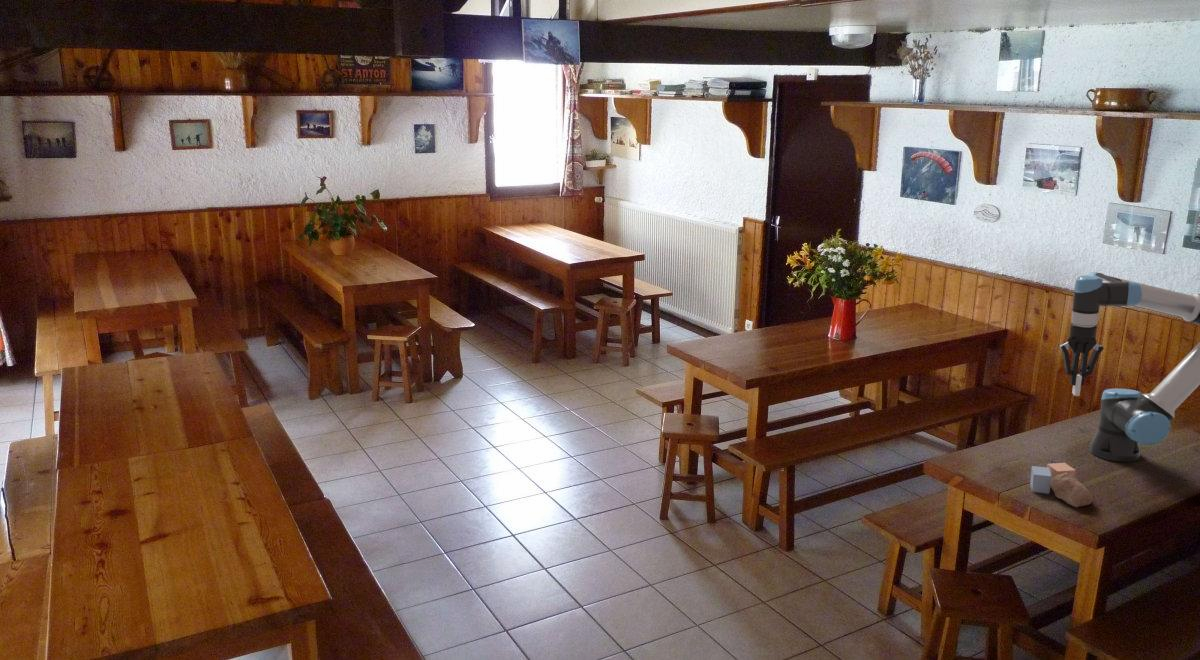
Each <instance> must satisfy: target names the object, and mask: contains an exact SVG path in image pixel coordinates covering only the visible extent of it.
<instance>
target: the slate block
mask: <svg viewBox="0 0 1200 660" xmlns="http://www.w3.org/2000/svg"><path fill="white" fill-rule="evenodd" d="M1030 471H1031V472H1030V479H1029V480H1030V481H1029V485H1030V489H1031V492H1032V493H1039V494H1048V495H1050V493H1051V485H1050V484H1051V482H1050V481H1051V473H1050V470H1049V468H1047V466H1046V467H1045V466H1036V465H1032V466H1031V470H1030Z"/></svg>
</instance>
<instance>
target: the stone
mask: <svg viewBox="0 0 1200 660" xmlns="http://www.w3.org/2000/svg"><path fill="white" fill-rule="evenodd" d="M1050 482H1051V485H1052V486H1051V485H1050V486H1051V489H1052V492H1053V493H1054V495H1055V497H1056V498H1058V499H1060V500H1062V501H1063V502H1065V503H1066V504H1067V505H1070V506H1072V507H1074V508H1080V507H1083V506H1089V505H1091V504H1092V503H1093V501H1094V496H1093V494H1092V492H1091V491H1089V489H1087V487H1085V486H1084V484H1083V483H1082V482H1080V481H1079V479H1078V478H1076V477H1075V478H1074V477H1073V476H1072V475H1071V474H1068V473H1064V474H1059V475H1056V476H1055V477H1054V478H1053V479H1052V480H1051V481H1050Z"/></svg>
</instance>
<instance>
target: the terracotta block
mask: <svg viewBox="0 0 1200 660" xmlns="http://www.w3.org/2000/svg"><path fill="white" fill-rule="evenodd" d="M1046 467H1047V468H1049V470H1050V473H1051V480H1052V479H1053V478H1054V477H1055V476H1056V475H1059V474H1064V473H1068V474H1071V475H1072V476H1073V477H1074V478H1076V472H1077V471H1076V469H1075V468H1073V467H1072V466H1070V465H1068V464H1067V463H1066V462H1057V463H1056V462H1055V463H1046ZM1050 487H1052V485H1051V484H1050Z"/></svg>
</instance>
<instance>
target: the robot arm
mask: <svg viewBox="0 0 1200 660" xmlns="http://www.w3.org/2000/svg"><path fill="white" fill-rule="evenodd" d="M1131 306H1132V307H1133V306H1134V307H1139V308H1141V309H1142V308H1143V309H1147V310H1151V311H1155V312H1160V313H1163V314H1167V315H1173V316H1176V317H1180V318H1182V319H1183V320H1184V321H1185V322H1189V323H1193V324H1195V325H1197V326H1200V293H1197V292H1193V293H1190V294H1188V293H1183V292H1178V291H1175V290H1174V291H1173V290H1169V289H1167V288H1163V287H1162V288H1161V287H1157V286H1154V285H1148V284H1146V283H1145V284H1144V283H1141V282H1136V281H1132V280H1129V279H1125V278H1119V277H1115V276H1110V275H1108V274H1107V275H1106V274H1104V273H1102V272H1098V271H1096V272H1095V271H1093V272H1090V273H1088V274H1086V275H1080V276H1077V278H1076V279H1075V283H1074V288H1073V299H1072V308H1071V309H1072V310H1071V319H1070V323H1071V324H1070V329H1069V334H1068V335H1069V337H1068V338H1067V340H1066V342H1065V343H1060V344H1059V348H1060V350H1061V353H1062V360H1063V367H1064V371H1065V373H1066V374H1068V375H1070V380H1069V382H1070V383H1069V384H1070V385H1071V386H1072V389H1071V391H1072V392H1071V394H1073V396H1074V397H1080V395H1081V390H1082V386H1084V385H1085V381H1086V380H1085V379H1086V377H1087V376H1088V375H1092V374H1093V371H1094V369H1095V367H1096V364H1097V362H1098V359H1099V357H1100V354H1101V353H1102V351H1103V350H1104V349H1105V348H1104V346H1103V345H1101V344H1098V342H1097V339H1096V337H1097V332H1098V331H1097V329H1098V326H1097V325H1098V323H1099V313H1100V307H1126V308H1127V307H1131ZM1069 347H1070V349H1071V350H1072V358H1071V359H1072V360H1070V355H1069ZM1092 349H1093V350H1092ZM1091 350H1092V352H1091V355H1090V351H1091ZM1089 355H1090V357H1089ZM1088 359H1089V360H1088ZM1070 361H1071V362H1070ZM1079 362H1080V364H1079ZM1078 370H1079V373H1078ZM1199 386H1200V341H1199V342H1198V343H1197V344H1196V345H1195V346H1194V347H1193V348H1192V349H1191V351H1190V352H1189V353H1187V354H1186V355H1185V357H1184V358H1183V359H1181V360H1180V362H1179V363H1178V364H1177V365H1176V366H1175V367H1174V368H1173V369H1172V370H1171V371H1170V372H1169V373H1168V374H1167V375H1166V376H1165V377H1164V378H1163V379H1162V381H1161V382H1160V383H1159V384H1158V385H1157V386H1156V387H1154V389H1152V391H1151V392H1149V393H1142V392H1141V391H1140V390H1139V391H1138V390H1134V389H1131V388H1130V389H1129V388H1116V387H1115V388H1107V389H1104V390H1103V392H1102V394H1101V399H1100V408H1099V409H1100V410H1099V419H1098V428H1097V430H1096V433H1095V434H1094V437H1093V438H1092V440H1091V442H1090V444H1089V445H1090V446H1089V452H1090V453H1091V454H1092V455H1094V456H1095V457H1098V458H1100V459H1104V460H1107V461H1113V462H1121V463H1128V462H1129V463H1130V462H1131V463H1132V462H1136V461H1138V460H1139V459H1140V457H1141V449H1140V444H1141V445H1144V446H1148V445H1150V446H1151V445H1156V444H1159V443H1160V442H1163V441H1164V440H1165V439H1166V438H1167V437H1168V435H1169V434H1170V432H1171V427H1172V426H1171V422H1172V421H1173V420H1174V419H1175V418H1176V417H1175V415H1176V414H1175V411H1176V410H1177V408H1179V407H1180V405H1182V404H1183V402H1184V401H1185V400H1187V398H1188V397H1189V396H1190V395H1191V394H1192V393H1193V392H1194V391H1195V390H1196V389H1198V387H1199Z"/></svg>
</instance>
